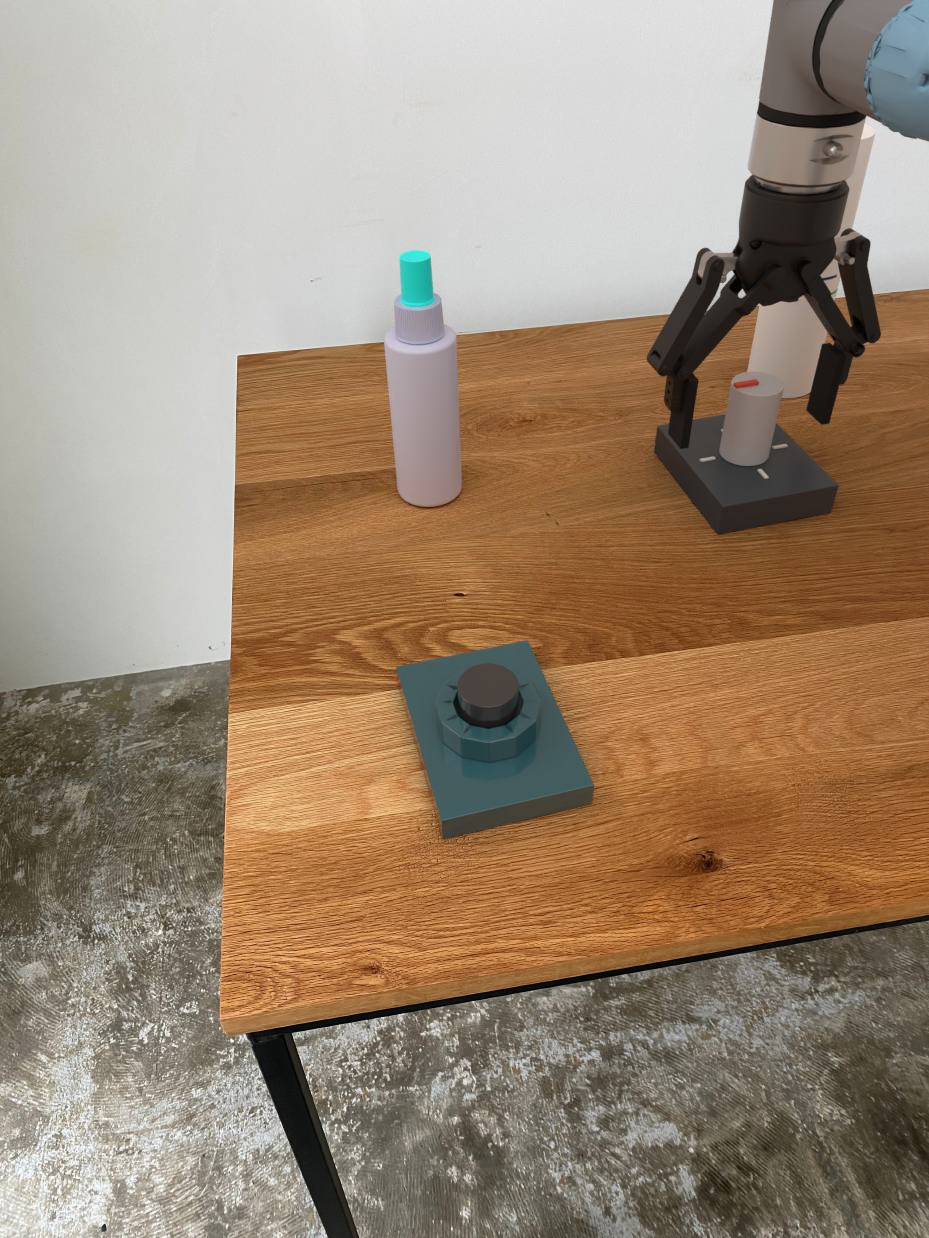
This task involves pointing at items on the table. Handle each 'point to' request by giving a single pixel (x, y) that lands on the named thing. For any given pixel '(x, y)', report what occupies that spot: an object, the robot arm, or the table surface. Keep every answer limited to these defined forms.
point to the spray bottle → (423, 389)
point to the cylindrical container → (804, 309)
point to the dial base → (746, 479)
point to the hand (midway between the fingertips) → (748, 429)
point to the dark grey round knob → (488, 695)
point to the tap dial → (750, 418)
